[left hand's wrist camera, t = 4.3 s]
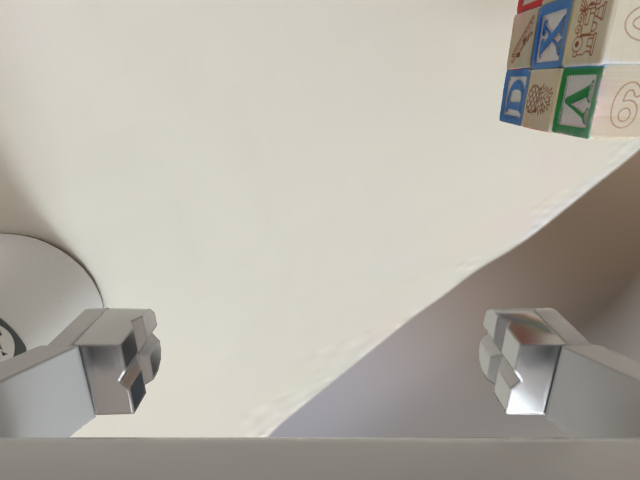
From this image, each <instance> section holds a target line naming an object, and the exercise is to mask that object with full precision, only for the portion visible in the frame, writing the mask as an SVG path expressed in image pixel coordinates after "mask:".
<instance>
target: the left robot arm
mask: <svg viewBox="0 0 640 480" xmlns="http://www.w3.org/2000/svg"><path fill="white" fill-rule="evenodd" d="M156 326H157V322H156V318H155V313H154V312H153V311H152V310H151V309H123V308H111V309H110V308H103V303H102V300H101V297H100V294H99V292H98V289H97V288H96V286H95V284H94V282H93V281H92V279H91V278H90V276H89V275H88V274H87V273H86V271H85V270H84V269H83V268H82V267H81V266H80V265H79V264H78V263H77V262H76V261H75V260H74V259H72V258H71V257H70V256H68V255H67V254H66V253H64V252H63V251H61V250H60V249H58V248H56V247H54V246H52V245H50V244H48V243H46V242H43V241H41V240H38V239H35V238H31V237H27V236H22V235H15V234H0V480H640V363H639V362H637V361H635V360H632V359H630V358H628V357H625V356H623V355H621V354H618V353H616V352H614V351H611V350H609V349H607V348H604V347H602V346H595V345H592V344H591V343H590V342H589V341H588V340H586V339H585V338H584V337H583V336H582V335H581V334H580V333H579V332H578V331H577V330H576V329H575V328H574V327H573V326H572V325H571V324H570V323H569V322H568V321H567V320H565V319H564V318H563V317H562V316H561V315H560V314H559V313H558V312H557V311H556V310H555V309H552V308H527V309H491V310H487V312H486V314H485V316H484V322H483V326H484V327H485V329H486V330H487V332H488V333H487V334H486V335H485V336H484V337H483V338H482V340H481V341H480V348H479V358H480V365H481V369H482V372H483V374H484V376H485V377H486V379H487V380H488V381H490V382H491V383H493V384H495V390H494V394H495V395H496V397H497V399H498V401H499V402H500V404H501V406H502V408H503V409H504V411H505V413H506V414H530V415H545V417H546V418H547V419H548V420H550V421H551V422H552V423H553V424H555V425H556V426H557V427H559V428H560V429H561V430H563V431H564V432H565V433H566V434H568V435H569V436H570V437H568V438H567V437H564V438H563V437H561V438H560V437H559V438H558V437H545V438H543V437H540V438H539V437H538V438H537V437H532V438H531V437H530V438H529V437H524V438H521V437H516V438H514V437H513V438H511V437H510V438H507V437H503V438H501V437H500V438H499V437H498V438H497V437H496V438H495V437H494V438H493V437H488V438H486V437H480V438H479V437H477V438H68V437H70V436H71V435H72V434H74V433H75V432H76V431H78V430H79V429H80V428H81V427H83V426H84V425H85V424H87V423H88V422H89V421H91V420H92V419H93V418H95V415H110V414H134V413H135V411H136V409H137V408H138V406H139V404H140V402H141V401H142V399H143V397H144V395H145V394H146V390H145V384H147V383H149V382H150V381H152V380H153V379H154V377H155V376H156V374H157V372H158V369H159V365H160V360H161V347H160V341H159V340H158V338H157V337H156V336H155V335H154V334H153V333H152V332H153V330H154V329H155V327H156Z"/></svg>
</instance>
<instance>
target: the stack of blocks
mask: <svg viewBox="0 0 640 480" xmlns="http://www.w3.org/2000/svg"><path fill="white" fill-rule="evenodd" d="M517 12H518V13H517V15H516V16H515V18H514V23H513V30H512V37H511V43H510V49H509V56H508V62H507V73H506V78H505V84H504V90H503V99H502V105H501V112H500V121H502V122H506V123H511V124H515V125H519V126H523V127H526V128H530V129H535V130H540V131H545V132H554V133H559V134H564V135H569V136H575V137H580V138H586V139H640V0H519V2H518V8H517Z"/></svg>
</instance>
